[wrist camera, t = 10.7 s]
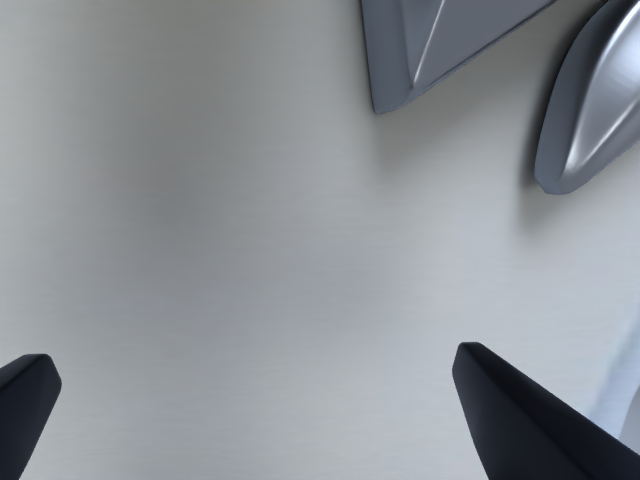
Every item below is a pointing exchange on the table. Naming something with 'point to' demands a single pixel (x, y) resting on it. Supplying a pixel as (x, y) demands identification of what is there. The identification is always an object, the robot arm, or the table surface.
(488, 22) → the emblem
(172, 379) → the table surface
